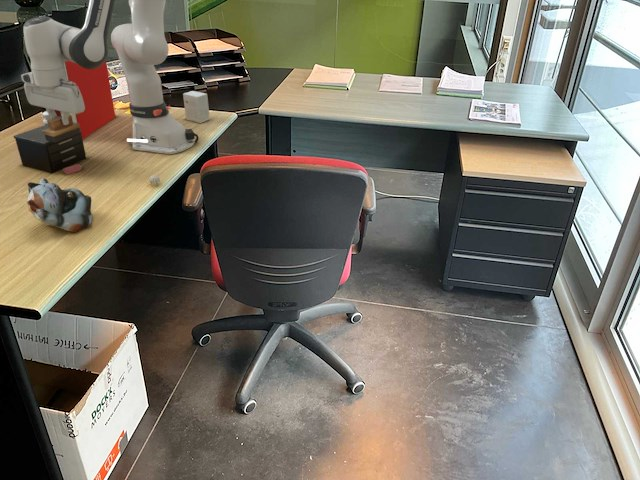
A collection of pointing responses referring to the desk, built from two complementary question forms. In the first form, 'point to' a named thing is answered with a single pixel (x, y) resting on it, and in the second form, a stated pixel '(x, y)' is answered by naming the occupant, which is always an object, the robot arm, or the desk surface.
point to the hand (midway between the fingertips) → (60, 123)
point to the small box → (196, 106)
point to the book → (91, 96)
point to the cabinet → (49, 150)
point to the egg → (154, 180)
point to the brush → (60, 129)
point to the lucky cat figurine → (59, 206)
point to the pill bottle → (45, 117)
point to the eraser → (72, 169)
